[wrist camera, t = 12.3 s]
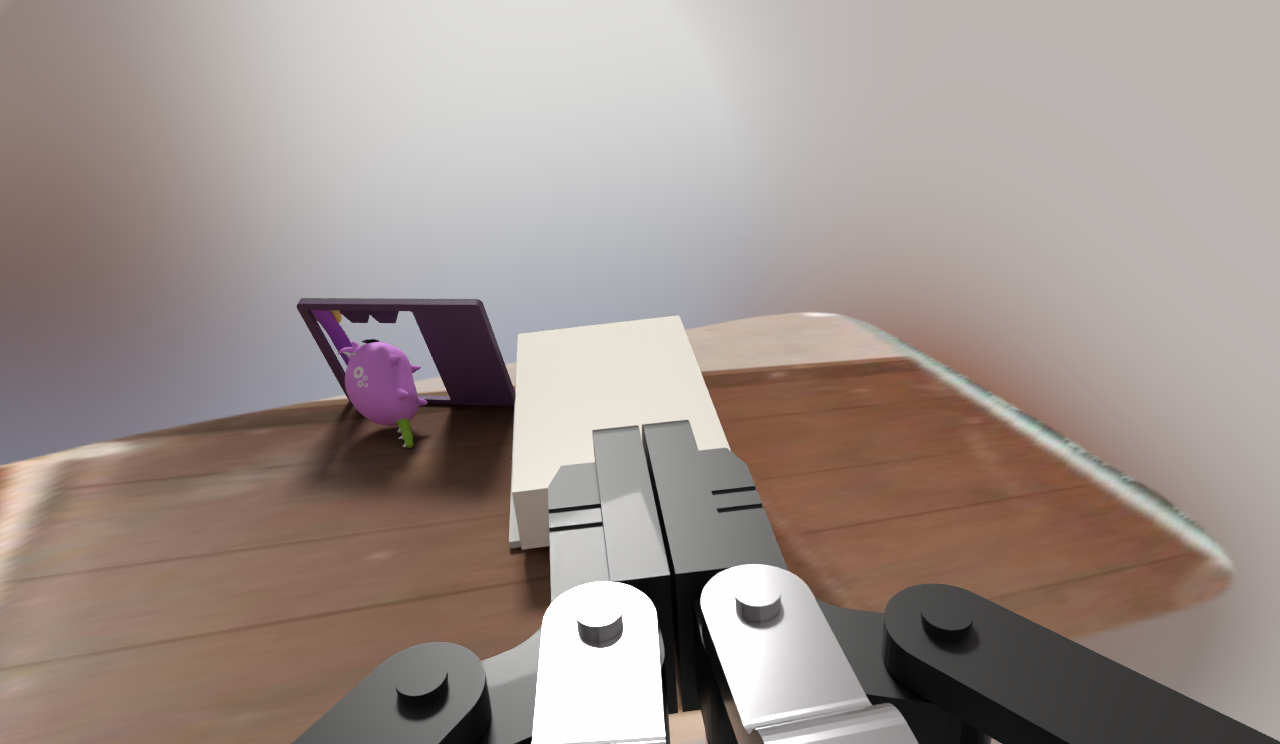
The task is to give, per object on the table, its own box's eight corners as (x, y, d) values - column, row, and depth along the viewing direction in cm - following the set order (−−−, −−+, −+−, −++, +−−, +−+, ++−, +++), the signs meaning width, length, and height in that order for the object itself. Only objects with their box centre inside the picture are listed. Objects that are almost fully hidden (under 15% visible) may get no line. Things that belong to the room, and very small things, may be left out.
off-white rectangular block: (512, 492, 32) (518, 334, 44) (522, 552, 33) (525, 381, 45) (735, 464, 32) (679, 315, 45) (738, 524, 33) (682, 363, 46)
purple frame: (486, 287, 40) (304, 287, 42) (449, 372, 36) (253, 368, 38) (522, 390, 45) (357, 385, 47) (493, 474, 41) (316, 465, 43)
